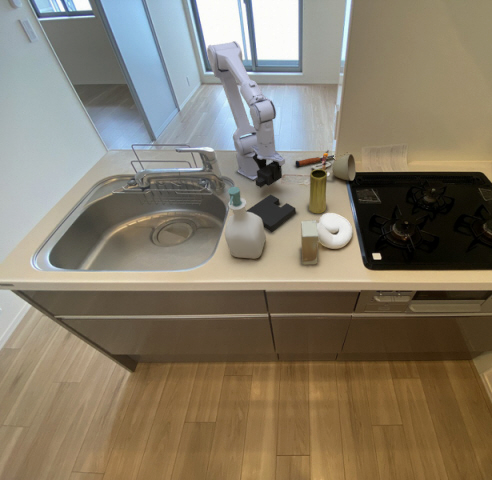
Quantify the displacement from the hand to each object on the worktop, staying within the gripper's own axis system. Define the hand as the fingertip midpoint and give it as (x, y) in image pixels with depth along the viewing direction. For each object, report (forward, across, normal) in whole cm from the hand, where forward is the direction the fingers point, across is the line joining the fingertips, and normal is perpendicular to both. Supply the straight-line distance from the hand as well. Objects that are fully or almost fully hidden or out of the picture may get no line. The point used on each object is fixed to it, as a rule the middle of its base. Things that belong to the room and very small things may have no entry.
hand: (269, 175), depth 102 cm
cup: (+4, +12, +23) cm, 26 cm away
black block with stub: (+1, 0, -1) cm, 2 cm away
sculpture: (+7, +32, -4) cm, 33 cm away
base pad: (+7, +10, -10) cm, 16 cm away
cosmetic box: (+7, +32, -16) cm, 36 cm away
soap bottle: (+7, +15, -25) cm, 30 cm away
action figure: (+7, +8, +22) cm, 25 cm away
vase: (+7, +20, +3) cm, 21 cm away
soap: (+7, +5, +24) cm, 26 cm away
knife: (+4, +5, +28) cm, 29 cm away
